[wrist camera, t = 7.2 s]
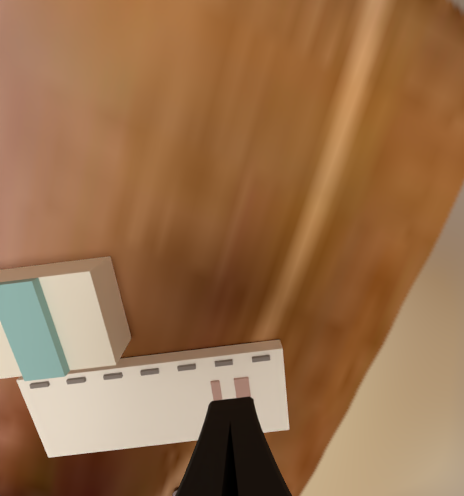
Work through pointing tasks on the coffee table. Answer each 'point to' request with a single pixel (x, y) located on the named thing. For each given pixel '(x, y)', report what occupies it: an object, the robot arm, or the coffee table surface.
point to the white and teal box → (60, 319)
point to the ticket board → (155, 397)
